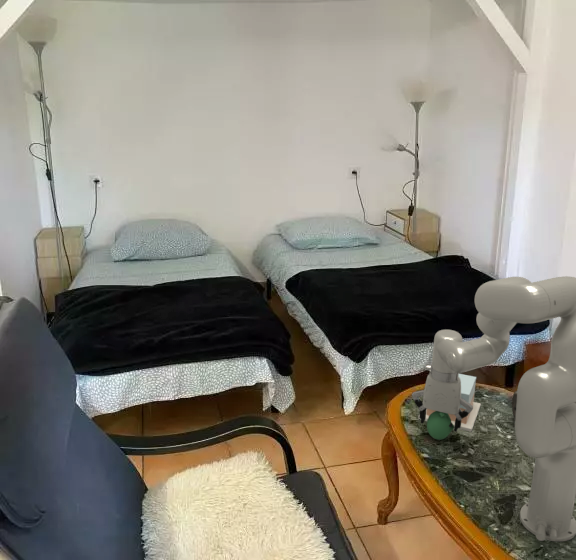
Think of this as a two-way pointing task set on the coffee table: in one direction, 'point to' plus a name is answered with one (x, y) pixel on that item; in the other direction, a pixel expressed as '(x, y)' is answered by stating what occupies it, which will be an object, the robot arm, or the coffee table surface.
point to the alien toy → (439, 425)
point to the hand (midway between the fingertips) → (439, 425)
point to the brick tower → (468, 396)
